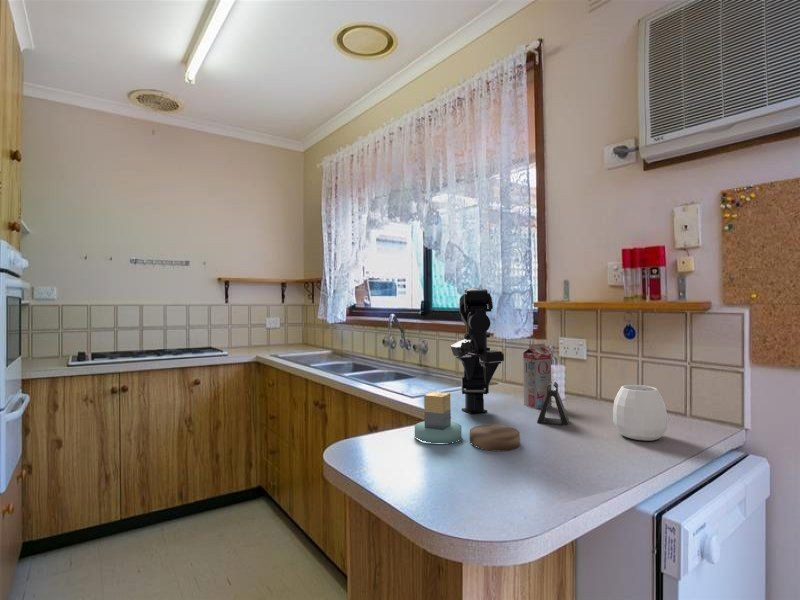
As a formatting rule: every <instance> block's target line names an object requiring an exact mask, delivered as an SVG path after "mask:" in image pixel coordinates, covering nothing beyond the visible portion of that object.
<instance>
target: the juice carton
mask: <svg viewBox="0 0 800 600" xmlns="http://www.w3.org/2000/svg"><path fill="white" fill-rule="evenodd" d="M545 344H546V343H543V342H542V343H530V344H528V349H526V350H525V351H524V352H523V353H522V354H523V358H522V360H523V365H522V366H523V406H526V405H527V407H529V408H533V409H534V410H535V409H536V410H537V409H538V410H539V409H542V407H543V404H544V402H545V399H546V396H547V387H548V384H549V383H550V382H551V381H552V353H551V352H550V351H549V350H548V349H547V348H546V345H545ZM549 387H550V389H551V390H552V385H551V386H549ZM552 405H553V404H552V396H551V397H550V399H549V403H548V407H547V408H552V407H553V406H552Z"/></svg>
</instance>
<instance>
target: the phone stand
mask: <svg viewBox="0 0 800 600" xmlns="http://www.w3.org/2000/svg"><path fill="white" fill-rule="evenodd" d="M552 383H553V387H554V388H555V389H552V388H551V389H550V387H549V386H551V387H552ZM550 397H551V398H553V397H554V401H555V405H556V408H557V411H558V415H559V418H554V417H546V414H547V409H548V408H549V407H548V403H549V399H550ZM536 423H537V424H542V425H543V424H544V425H553V426H554V425H555V426H564V425H565V426H566V427H568V426H569V423H570V419H569V416H568V414H567V411H566V408H565V406H564V403H563V400H562V398H561V396H560V393H559V384H558V382H556V381H554V382H553V381H552V380H551V382H550V383H549V384H548V387H547V396H546V399H545V402H544V404H543V407H542V408H541V410H540V412H539V415H538V418H537V420H536Z"/></svg>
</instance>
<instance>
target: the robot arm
mask: <svg viewBox="0 0 800 600" xmlns="http://www.w3.org/2000/svg"><path fill="white" fill-rule="evenodd" d="M493 304H494V303H493V297H492V296H491V293H490V292H488V290H487V289H486V288H485V289H482V288H478V287H467V288H464V293H463V294H462V295H461V297H459V310H458V311H459V314H460V315H461V316H460V317H461V321H462V322H463V323H464V325H465V329H466V333H465V334H464V335H463V336H464V337H463V339H462V340H458V341H457V342H455V343H453V344H451V345H450V348H451V352H452V354H453V357H456V359H457V360H459V361H460V362H461V364H462V367H463V375H461V394H462V395H464V399H465V407H463V408H461V411H464V412H465V413H468V414H470V415H475V414H483V413H487V412H488V409H485V405H484V404H485V401H484V395H488V394H489V393H490V392H489V388H490V383H491V380H492V378H493V376H494V374H495V373H496V370H497V368H498V367H499V365H500V364H502V362H504V361H505V354H504V353H503V351H502V350H495V349H492V350H491V347H488V338H491V333H488V330H489V329H490V327H491V319H490V317H489V316H488V315H487V312H488V313H490V312H492V310H494V309H493V308H494V306H493Z"/></svg>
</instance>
